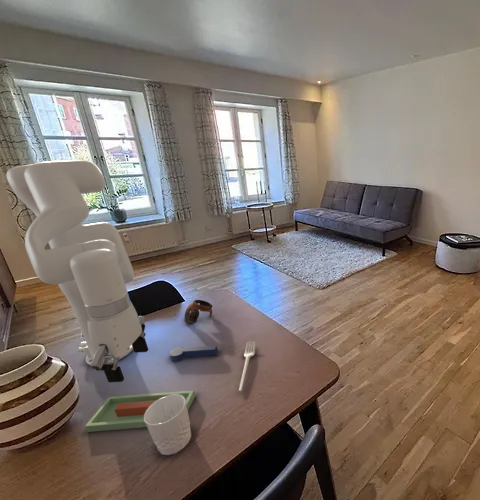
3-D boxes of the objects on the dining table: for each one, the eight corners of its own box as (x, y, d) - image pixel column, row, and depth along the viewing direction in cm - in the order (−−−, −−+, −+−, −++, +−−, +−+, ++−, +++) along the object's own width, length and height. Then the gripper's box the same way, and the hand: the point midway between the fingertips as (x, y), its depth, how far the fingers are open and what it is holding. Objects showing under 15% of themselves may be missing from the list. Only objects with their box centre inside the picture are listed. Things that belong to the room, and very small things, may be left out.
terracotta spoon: (113, 421, 72) (110, 414, 71) (124, 406, 76) (122, 399, 75) (173, 416, 73) (171, 409, 72) (181, 402, 77) (179, 394, 76)
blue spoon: (219, 349, 97) (218, 343, 96) (214, 358, 93) (213, 352, 92) (174, 352, 96) (173, 346, 95) (168, 361, 92) (166, 355, 91)
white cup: (166, 426, 71) (155, 395, 67) (199, 424, 72) (191, 392, 68) (147, 460, 64) (135, 426, 60) (185, 456, 64) (175, 423, 61)
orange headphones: (186, 315, 117) (193, 296, 117) (210, 322, 120) (217, 304, 120) (175, 325, 106) (184, 304, 106) (202, 333, 108) (210, 312, 108)
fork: (234, 393, 80) (233, 388, 79) (246, 346, 99) (245, 341, 98) (246, 392, 80) (245, 386, 80) (256, 345, 99) (255, 340, 98)
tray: (87, 432, 70) (84, 426, 69) (111, 402, 78) (109, 396, 77) (181, 424, 72) (179, 418, 71) (195, 395, 80) (194, 390, 79)
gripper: (116, 286, 72) (135, 342, 79) (57, 329, 56) (86, 396, 63) (148, 285, 73) (164, 341, 79) (99, 328, 57) (123, 393, 63)
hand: (129, 365), depth 71 cm, fingers open, 9 cm apart
